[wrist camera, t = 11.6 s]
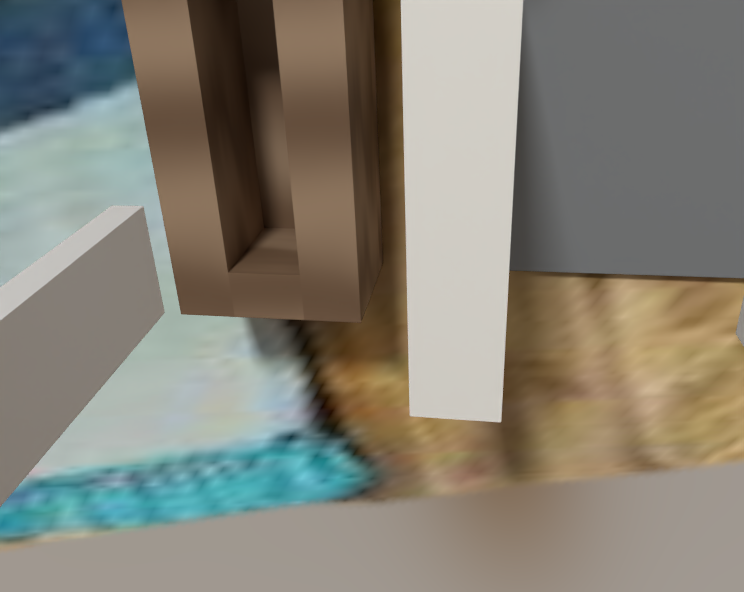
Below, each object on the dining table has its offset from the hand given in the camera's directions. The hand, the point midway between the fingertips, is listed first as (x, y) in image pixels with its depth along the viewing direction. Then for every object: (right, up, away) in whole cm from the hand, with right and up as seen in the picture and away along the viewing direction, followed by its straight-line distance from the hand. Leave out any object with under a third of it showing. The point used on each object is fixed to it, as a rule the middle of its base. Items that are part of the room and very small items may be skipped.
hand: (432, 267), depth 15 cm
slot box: (-5, +8, +16) cm, 19 cm away
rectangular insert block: (+3, +8, +15) cm, 17 cm away
